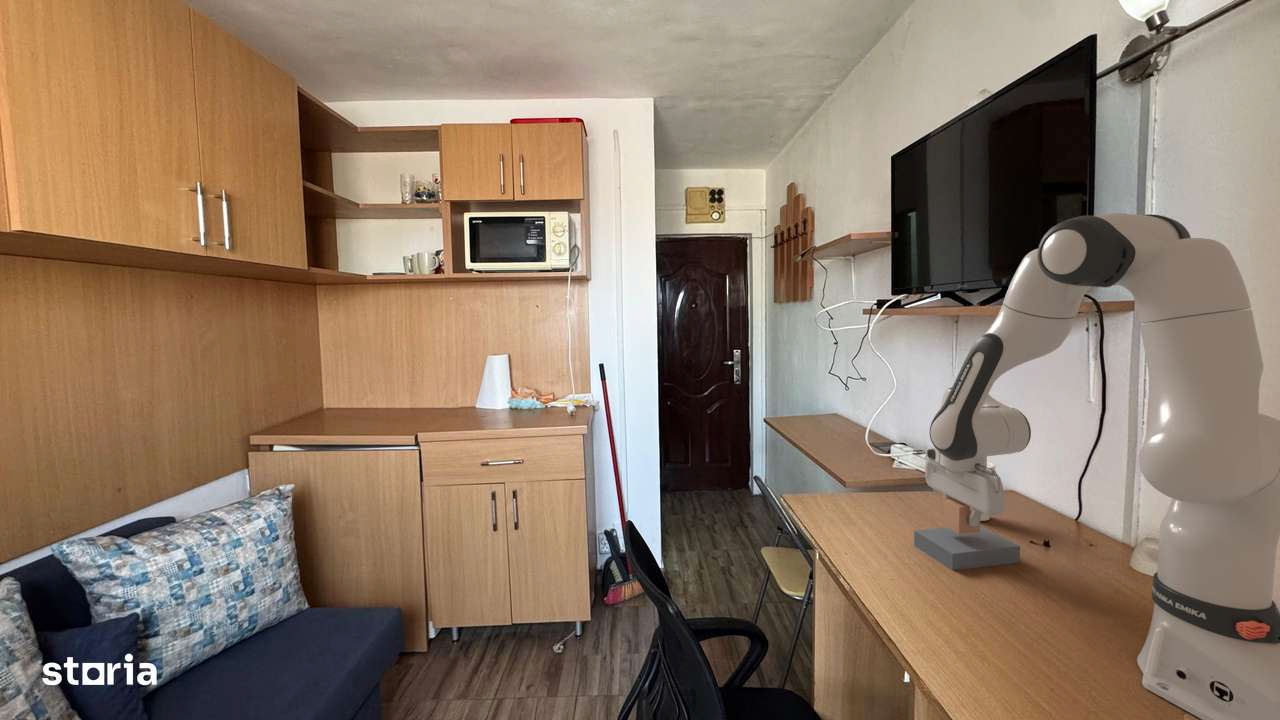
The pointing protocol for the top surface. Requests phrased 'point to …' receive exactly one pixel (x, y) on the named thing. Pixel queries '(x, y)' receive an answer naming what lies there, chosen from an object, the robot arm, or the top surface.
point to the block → (958, 517)
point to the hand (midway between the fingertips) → (961, 519)
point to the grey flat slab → (966, 548)
